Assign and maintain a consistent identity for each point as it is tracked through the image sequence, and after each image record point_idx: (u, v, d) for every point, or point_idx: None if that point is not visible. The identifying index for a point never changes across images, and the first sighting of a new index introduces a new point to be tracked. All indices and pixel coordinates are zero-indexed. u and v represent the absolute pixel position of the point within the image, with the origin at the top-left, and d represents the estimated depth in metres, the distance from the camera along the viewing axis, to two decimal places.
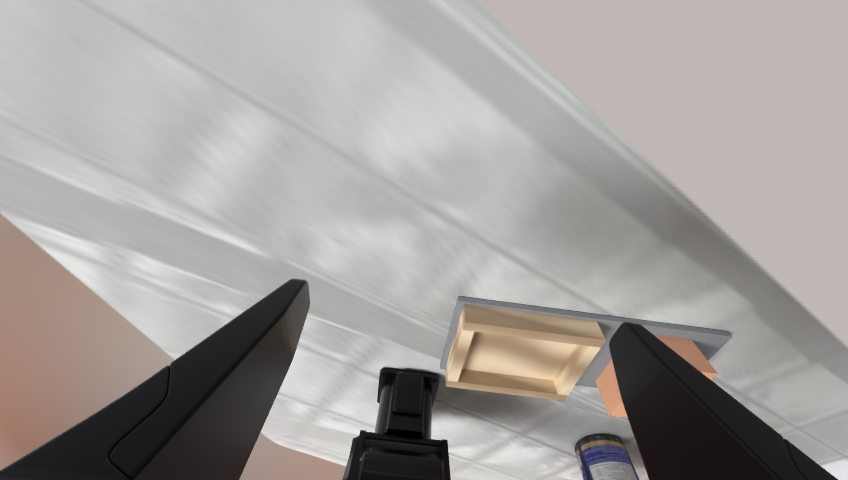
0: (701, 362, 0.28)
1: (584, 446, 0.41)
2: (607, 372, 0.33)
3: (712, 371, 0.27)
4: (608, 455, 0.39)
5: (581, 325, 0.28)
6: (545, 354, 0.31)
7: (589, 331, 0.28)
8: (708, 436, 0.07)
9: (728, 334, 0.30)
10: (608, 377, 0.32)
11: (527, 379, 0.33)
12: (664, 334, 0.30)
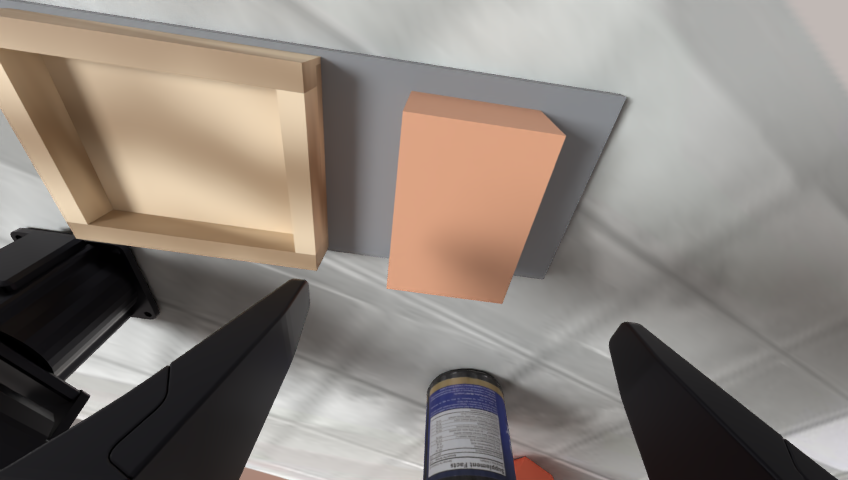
0: (538, 124, 0.12)
1: (433, 389, 0.25)
2: None
3: (555, 132, 0.11)
4: (460, 399, 0.23)
5: (270, 51, 0.12)
6: (252, 161, 0.15)
7: (277, 55, 0.12)
8: (708, 436, 0.07)
9: (619, 95, 0.13)
10: None
11: (250, 231, 0.17)
12: (480, 97, 0.14)
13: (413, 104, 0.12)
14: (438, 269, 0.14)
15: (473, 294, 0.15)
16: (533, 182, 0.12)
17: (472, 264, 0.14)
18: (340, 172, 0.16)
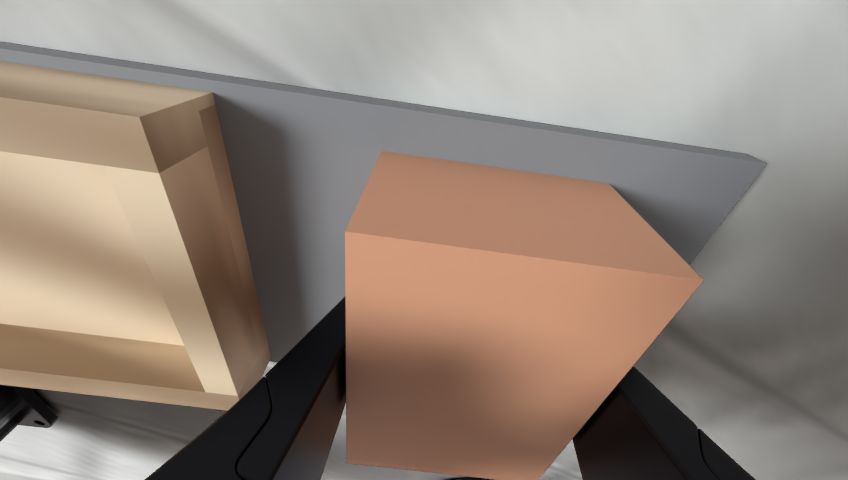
0: (629, 237, 0.06)
1: None
2: None
3: (678, 269, 0.05)
4: None
5: (103, 87, 0.06)
6: (124, 257, 0.09)
7: (105, 96, 0.06)
8: (626, 426, 0.06)
9: (752, 159, 0.08)
10: None
11: (143, 349, 0.11)
12: (503, 161, 0.08)
13: (376, 197, 0.06)
14: (430, 446, 0.09)
15: (488, 472, 0.09)
16: (616, 349, 0.06)
17: (487, 444, 0.08)
18: (275, 267, 0.10)
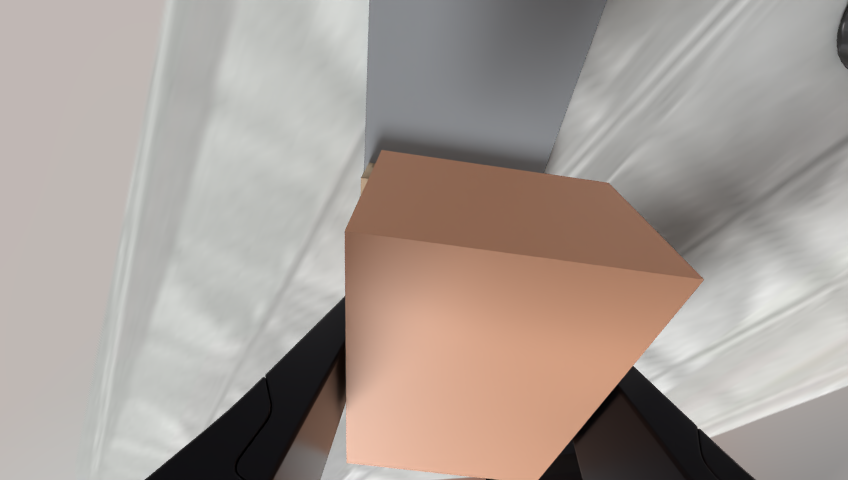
0: (629, 237, 0.06)
1: None
2: None
3: (678, 268, 0.05)
4: None
5: None
6: None
7: None
8: (626, 426, 0.06)
9: None
10: None
11: None
12: (387, 24, 0.15)
13: (376, 197, 0.06)
14: (430, 446, 0.09)
15: (488, 473, 0.09)
16: (616, 349, 0.06)
17: (487, 443, 0.08)
18: None
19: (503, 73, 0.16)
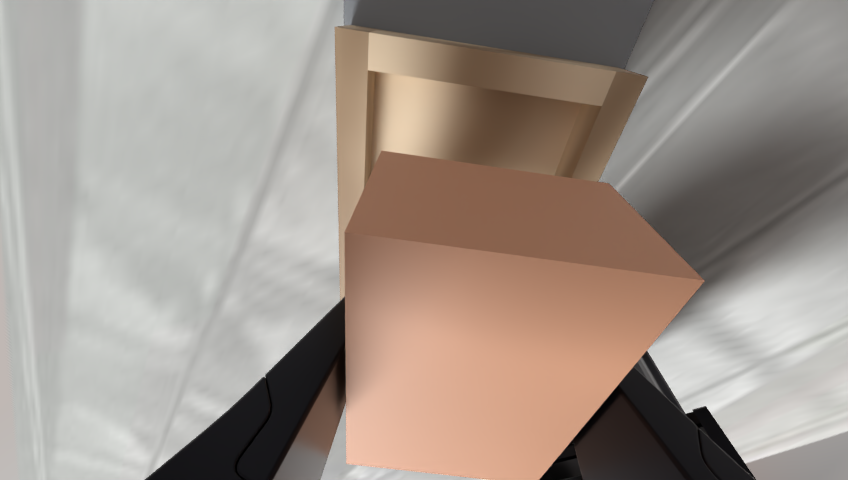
0: (630, 237, 0.06)
1: None
2: None
3: (679, 269, 0.05)
4: None
5: None
6: (466, 140, 0.13)
7: None
8: (626, 426, 0.06)
9: None
10: None
11: (558, 172, 0.13)
12: None
13: (375, 198, 0.06)
14: (430, 447, 0.09)
15: (488, 473, 0.09)
16: (617, 350, 0.06)
17: (488, 444, 0.08)
18: (495, 22, 0.11)
19: None
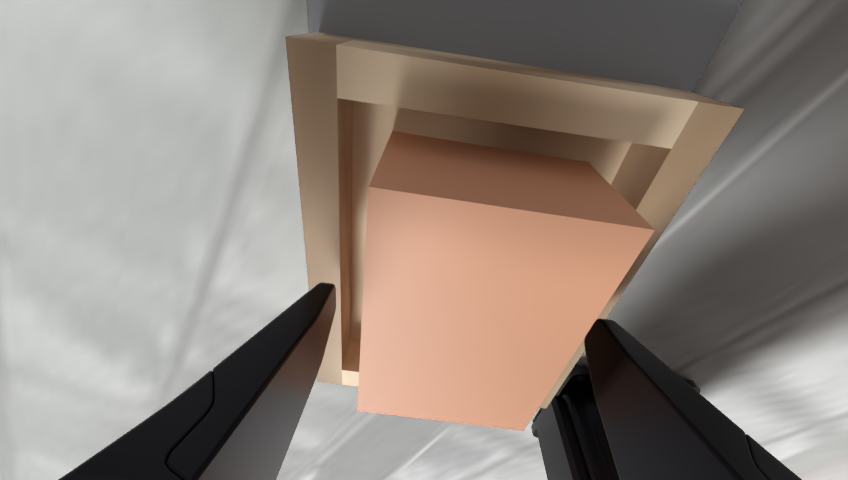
0: (599, 199, 0.07)
1: None
2: None
3: (635, 222, 0.06)
4: None
5: None
6: None
7: None
8: (672, 432, 0.07)
9: None
10: None
11: None
12: None
13: (391, 165, 0.07)
14: (431, 392, 0.10)
15: (482, 419, 0.11)
16: (589, 293, 0.07)
17: (481, 389, 0.10)
18: (518, 28, 0.08)
19: None
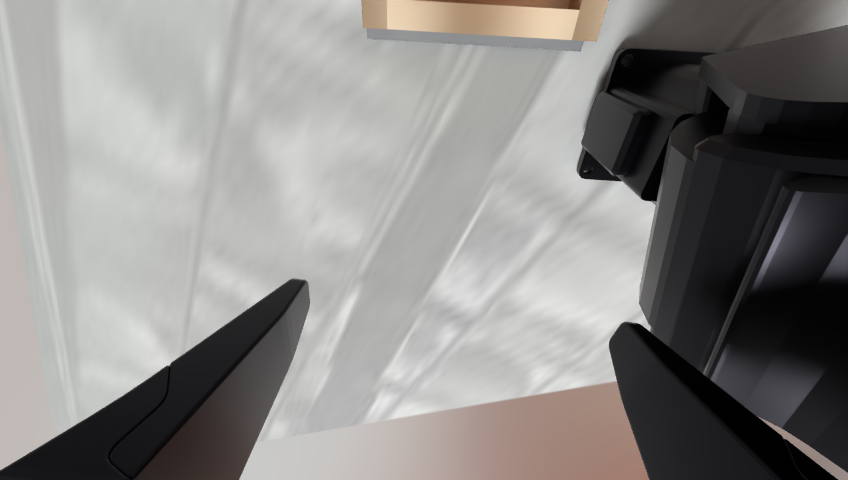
0: None
1: None
2: None
3: None
4: None
5: None
6: None
7: None
8: (708, 436, 0.07)
9: None
10: None
11: None
12: None
13: None
14: None
15: None
16: None
17: None
18: None
19: None
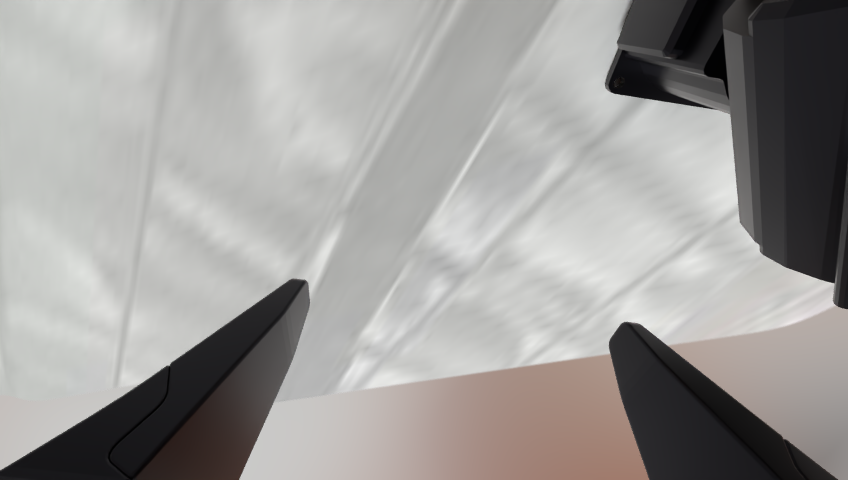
0: None
1: None
2: None
3: None
4: None
5: None
6: None
7: None
8: (708, 436, 0.07)
9: None
10: None
11: None
12: None
13: None
14: None
15: None
16: None
17: None
18: None
19: None
